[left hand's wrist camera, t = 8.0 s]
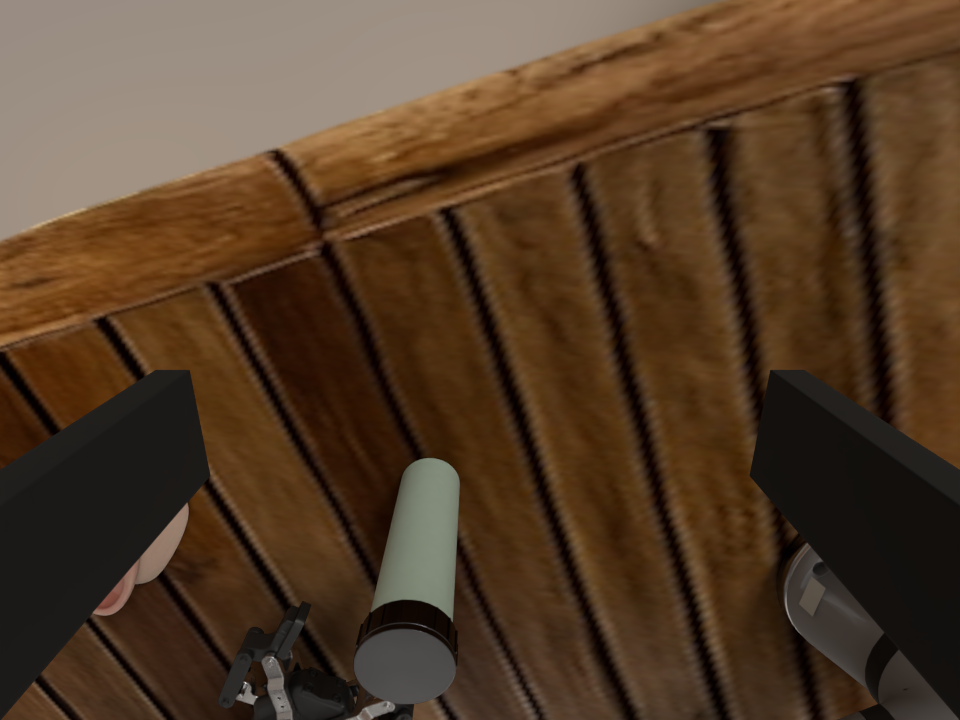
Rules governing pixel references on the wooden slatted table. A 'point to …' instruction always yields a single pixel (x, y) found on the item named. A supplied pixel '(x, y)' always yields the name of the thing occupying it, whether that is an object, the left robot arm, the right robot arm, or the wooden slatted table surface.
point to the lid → (406, 652)
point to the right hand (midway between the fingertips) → (357, 632)
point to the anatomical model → (147, 564)
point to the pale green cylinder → (422, 538)
